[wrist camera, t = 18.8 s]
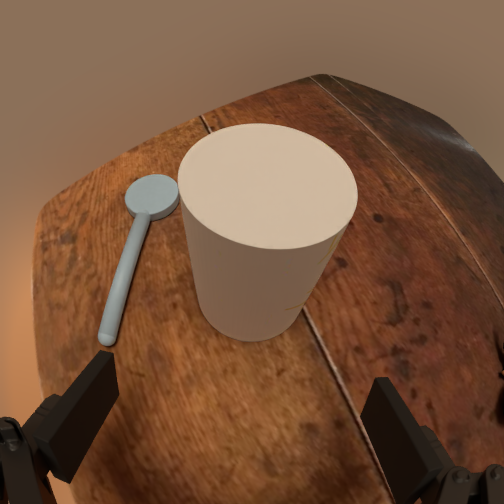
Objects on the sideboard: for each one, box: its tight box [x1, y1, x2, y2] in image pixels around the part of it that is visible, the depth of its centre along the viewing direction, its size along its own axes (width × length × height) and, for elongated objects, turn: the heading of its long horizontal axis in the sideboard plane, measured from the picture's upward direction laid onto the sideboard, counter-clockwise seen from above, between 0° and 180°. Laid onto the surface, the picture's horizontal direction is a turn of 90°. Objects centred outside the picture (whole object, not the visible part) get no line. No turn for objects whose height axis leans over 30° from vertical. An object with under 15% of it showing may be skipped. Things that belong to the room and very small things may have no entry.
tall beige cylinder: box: [178, 124, 357, 342], centre depth 18 cm, size 8×8×12 cm
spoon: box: [98, 174, 180, 346], centre depth 24 cm, size 17×5×1 cm, turn 175°
